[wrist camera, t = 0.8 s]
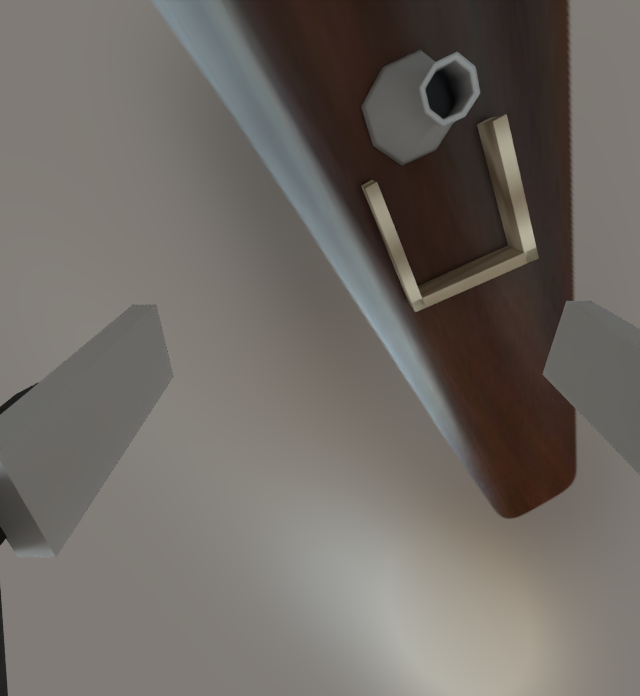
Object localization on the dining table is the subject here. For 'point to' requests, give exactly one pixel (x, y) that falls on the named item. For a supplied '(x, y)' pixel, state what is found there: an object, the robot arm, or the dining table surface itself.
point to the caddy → (511, 213)
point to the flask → (418, 103)
